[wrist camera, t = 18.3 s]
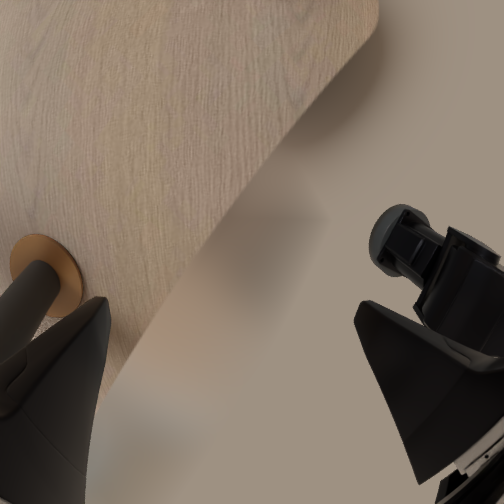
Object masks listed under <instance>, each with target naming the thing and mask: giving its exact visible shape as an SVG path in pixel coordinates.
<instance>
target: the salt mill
mask: <svg viewBox="0 0 504 504" xmlns="http://www.w3.org/2000/svg"><path fill="white" fill-rule="evenodd" d="M59 292H60V280H59V277H58V275H57V273H56V271H55V270H54V269H53V268H52V267H51V266H50V265H49V264H48V263H46V262H44V261H41V260H35V261H32V262H31V263H30V264H29V265H28V266H27V267H26V268H25V269H24V270H23V271H22V272H21V273H20V275H19V276H18V277H17V278H16V279H15V280H14V281H13V282H12V284H11V285H10V286H9V287H8V288H7V289H6V291H5V292H4V293H3V294H2V296H1V297H0V364H1V363H3V362H4V361H6V360H7V359H8V358H10V357H11V356H12V355H14V354H15V353H16V352H18V351H19V350H20V349H22V348H23V347H25V348H26V345H27V344H28V343H30V342H31V340H32V338H33V336H34V334H35V332H36V331H37V329H38V327H39V325H40V323H41V322H42V320H43V318H44V317H45V315H46V313H47V312H48V310H49V308H50V307H51V305H52V303H53V302H54V300H55V299H56V297H57V295H58V294H59Z"/></svg>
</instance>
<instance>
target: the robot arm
mask: <svg viewBox="0 0 504 504" xmlns="http://www.w3.org/2000/svg"><path fill="white" fill-rule="evenodd" d="M406 213H407V214H406ZM381 258H382V259H381ZM500 258H501V256H500V255H499V254H497V253H496V252H495V251H494V250H492V249H491V248H490V247H488V246H487V245H485V244H484V243H482V242H480V241H479V240H477V239H475V238H473V237H472V236H470V235H468V234H465V233H463V232H461V231H459V230H457V229H454V228H452V227H450V226H449V227H448V230H447V235H446V237H444V236H442V235H440V234H438V233H437V232H435V231H434V230H433V229H432V228H431V227H430V226H428V225H427V224H426V223H425V222H424V221H423V220H421V219H420V218H419V217H418V216H417V215H415V214H414V213H413V212H412V211H410V210H409V209H407V208H406V209H404V210H403V211H402V213H401V215H400V217H399V219H398V221H397V223H396V225H395V227H394V228H393V230H392V232H391V234H390V236H389V237H388V239H387V241H386V243H385V244H384V246H383V248H382V250H381V251H380V253H379V255H378V256H377V259H376V260H377V262H378V263H379V264H381V265H383V266H385V267H387V268H389V269H391V270H392V271H394V272H396V273H398V274H400V275H402V276H404V277H406V278H408V279H409V280H411V281H412V282H413V283H414V284H415V285H416V286H418V287H419V288H420V289H421V290H422V292H421V294H420V296H419V298H418V300H417V302H415V304H414V306H413V309H414V310H415V312H416V314H417V315H418V317H419V319H420V320H421V322H422V323H423V325H424V326H423V325H421V324H419V323H416V322H414V321H412V320H410V319H408V318H406V317H404V316H402V315H400V314H398V313H396V312H394V311H392V310H390V309H388V308H386V307H384V306H382V305H380V304H377V303H375V302H373V301H371V300H368V301H362V302H361V303H360V305H359V307H358V310H357V312H356V315H355V317H354V325H355V327H356V330H357V333H358V336H359V339H360V341H361V344H362V347H363V350H364V353H365V355H366V358H367V360H368V362H369V364H370V366H371V369H372V371H373V373H374V375H375V377H376V380H377V382H378V384H379V386H380V388H381V391H382V393H383V395H384V398H385V400H386V402H387V404H388V407H389V409H390V412H391V414H392V417H393V419H394V421H395V424H396V426H397V429H398V431H399V434H400V436H401V438H402V441H403V444H404V447H405V449H406V452H407V455H408V458H409V460H410V463H411V465H412V468H413V471H414V474H415V477H416V480H417V482H418V484H419V485H420V484H422V483H424V482H425V481H427V480H428V479H430V478H431V477H433V476H434V475H436V474H437V473H439V472H440V471H441V470H443V469H444V468H446V467H447V466H448V465H450V464H451V463H452V462H454V464H455V465H456V467H457V469H456V470H455V471H453V472H452V473H451V474H449V475H448V476H447V477H445V478H444V479H443V480H441V481H440V485H439V489H438V493H437V497H436V501H435V504H504V266H502V265H501V264H499V260H500ZM110 328H111V315H110V309H109V303H108V299H107V298H106V297H98V296H96V297H94V298H92V299H91V300H89V301H88V302H86V303H85V304H83V305H82V306H80V307H79V308H77V309H76V310H74V311H73V312H72V313H70V314H69V315H67V316H66V317H64V318H63V319H62V320H60V321H59V322H57V323H56V324H55V325H53V326H52V327H50V328H49V329H48V330H46V331H45V332H43V333H42V334H41V335H39V336H38V337H37V338H35V339H34V340H32V341H31V342H30V343H28V344H27V345H26V348H25V347H23V348H22V349H20V350H19V351H18V352H16V353H15V354H14V355H12V356H11V357H10V358H8V359H7V360H6V361H4V362H3V363H1V364H0V504H85V488H86V472H87V462H88V453H89V446H90V439H91V432H92V425H93V420H94V414H95V409H96V404H97V399H98V394H99V389H100V385H101V380H102V376H103V372H104V367H105V362H106V355H107V348H108V341H109V334H110ZM493 357H497V358H493Z"/></svg>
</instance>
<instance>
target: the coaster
mask: <svg viewBox="0 0 504 504" xmlns="http://www.w3.org/2000/svg"><path fill="white" fill-rule="evenodd" d="M35 260H41V261H44V262H46V263H48V264H49V265H50V266H51V267H52V268H53V269H54V270H55V271H56V273H57V275H58V277H59V280H60V292H59V294H58V295H57V297H56V299H55V300H54V302H53V303H52V305H51V307H50V308H49V310H48V312H47V313H46V315H47V316H51V317H64V316H67V315H69V314H70V313H72V312H73V311H74V310H76V309H77V307H78V305H79V304H80V301H81V299H82V295H83V283H82V277H81V274H80V271H79V269H78V266H77V265H76V263H75V261H74V259H73V258H72V256H71V255H70V254H69V253H68V251H67V250H66V249H65V248H64V247H63V246H62V245H60V244H59V243H58V242H56V241H55V240H53V239H51V238H49V237H47V236H44V235H39V234H32V235H28V236H25V237H24V238H22V239H21V240H20V241H18V242H17V243H16V245H15V246H14V248H13V250H12V253H11V257H10V271H11V276H12V280H13V281H14V280H15V279H16V278H17V277H18V276H19V275H20V273H21V272H22V271H23V270H24V269H25V268H26V267H27V266H28V265H29V264H30V263H31V262H32V261H35Z"/></svg>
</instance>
